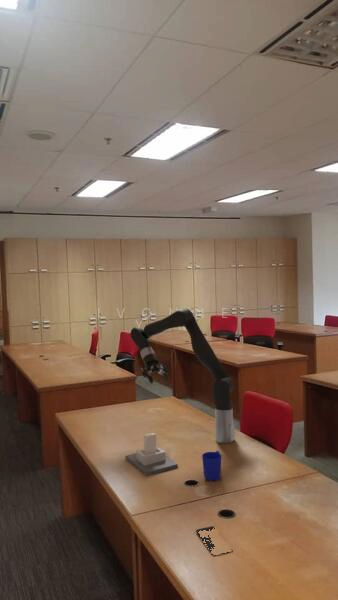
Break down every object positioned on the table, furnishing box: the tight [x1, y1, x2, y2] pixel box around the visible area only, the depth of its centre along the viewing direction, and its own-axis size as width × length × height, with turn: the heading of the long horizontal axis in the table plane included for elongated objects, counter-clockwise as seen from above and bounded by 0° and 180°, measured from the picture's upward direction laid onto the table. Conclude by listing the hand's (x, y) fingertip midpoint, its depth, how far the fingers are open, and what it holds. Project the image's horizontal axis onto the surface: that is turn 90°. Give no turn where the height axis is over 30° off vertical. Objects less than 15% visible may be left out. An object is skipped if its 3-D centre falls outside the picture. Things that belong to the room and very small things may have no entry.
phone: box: [195, 525, 215, 553], centre depth 150 cm, size 7×1×15 cm
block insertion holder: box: [125, 445, 179, 476], centre depth 214 cm, size 22×16×6 cm
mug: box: [201, 450, 222, 482], centre depth 198 cm, size 8×12×10 cm
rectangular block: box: [143, 432, 157, 455], centre depth 214 cm, size 2×5×12 cm, turn 120°
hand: (159, 381), depth 245 cm, fingers open, 8 cm apart
